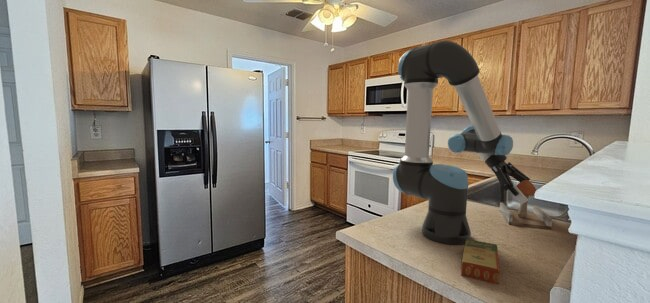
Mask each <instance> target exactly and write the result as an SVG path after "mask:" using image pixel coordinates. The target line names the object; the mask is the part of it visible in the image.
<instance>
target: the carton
mask: <svg viewBox="0 0 650 303" xmlns="http://www.w3.org/2000/svg"><path fill="white" fill-rule="evenodd" d="M498 252H499V251H498V244H496V243H490V242H485V241H479V240H473V239H471V240H468V239H466V241H465V244H464V249H463V254H462V261H461V266H460V268H461V269H460V270H461V272H460V276H462V277H467V278H471V279H474V280H477V281H483V282H487V283H490V284H493V285H497V286H499V285H498V284H499V278H500V264H499V263H500V262H499V253H498Z"/></svg>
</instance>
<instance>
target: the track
mask: <svg viewBox="0 0 650 303" xmlns="http://www.w3.org/2000/svg"><path fill="white" fill-rule="evenodd" d="M498 211H499V213H500V215H501V216H502V217H503V218H504V220H505V221H506V223H507V224H508V225H510V226H519V227H527V228H529V227H530V228H535V229H536V228H537V229H544V230H546V229H547V230H552V225H553V218H552V217H551V216H550V215H548V213H546V212H545V211H544V210H543V209H542V208H540V207H539V206H538V205H536V204H535V205H533V212H531V211H527V216H526V218H521V217H519V216H518V211H519V210H510V209H509V208H508V207H507V206H506V204H505V203H504V202H502V201H501V202H499V210H498Z"/></svg>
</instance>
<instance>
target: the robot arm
mask: <svg viewBox="0 0 650 303" xmlns="http://www.w3.org/2000/svg"><path fill="white" fill-rule="evenodd" d="M398 61H399V62H398V65H397V72H398V76H400V79H401V81H403V86H404V87H405V89H406V90H407V101H406V102H407V107H406V122H405V125H406V126H405V138H404V139H405V142H404V143H405V144H404V145H405V146H404V154H403V156H402V157H401V158H400V160H399V163H398V164H396V166H395V168H394V169H393V171H392V182H393V184H394V186H395V188H396V189H397V191H398V192H401V193H403V194H405V195H408V196H412V197H416V198H419V199H423V200H427V201H428V206H427V207H428V210H427V213H426V216H425V218H424V220H423V223H422V226H421V234H422V235H423V236H424V237H425V238H427V239H429V240H431V241H433V242H436V243H441V244H447V245H465V241H466V239H468V240H472V239H471V238H472V237H471V236H472V232H471V228H470V225H469V221H468V218H467V202H468V189H469V176H468V173H467V171H466V170H465V169H463V168H461V167H458V166H455V165H449V164H444V163H434V161H433V159H432V158H431V157H430V145H431V144H430V143H431V142H430V141H431V128H432V127H431V126H432V114H433V113H432V112H433V111H432V109H433V95H434V90H435V89H436V87H438V86H439V78H445V79H446V80H447V82H448V84H449V86H452V87H454V89H455V91H456V93H457V95H458V97H459V100H460V102H461V104H462V105H463V106H462V107H463V108H464V110H465V113H466V114H467V117H468V119H469V121H470V123H471V124H470V125H468V126H467V127H465V128H464V129H463V130H462V131H461V132H460V133H455V134H453V135H450V137H449V138H448V139H447V147H448V149H449V150H450V151H451V152H452V153H455V154H457V153H459V154H460V153H463V152H466V153H474V154H475V153H476V154H477V156H478V158H480V159H481V160H482V161H484V163H485V165H487V167H488V168H489V169H491V171H492V172H493V174H494V175H495V177H496V179H497V180H498V182H499V183H500V185H501V187H502V188H503V189H504V191H506V192H507V191H509V192H510V193H511V195H512V196H513V197H514V198H515V200H517V201H518V203H520V205H521V204H523V203H525V202H527V201H529V198H528V199H527V198H526V197H525V196H524V195H523V193H522V192H521V191H520V190H519V189H518V188H517V187H516V185H514V183H513V181H512V178H513V179H515V180H516V181H517V182H518V183H520V182H522V181H524V180H526V179H527V180H528V181H530V180H531V178H530V177H528V176H527V175H526V174H524V173H523V172H522V171H521V170H519V169H518V168H517V167H516V166H515V165H514V164H512V163H511V162H506V160H507V156H508V155H510V153H512V151H513V148H514V139H513V137H511V135H509V134H502V132H501V129H500V127H499V124H498V122H497V119H496V117H495V114H494V112H493V110H492V108H491V105H490V102H489V100H488V98H487V95H486V93H485V90H484V87H483V86H482V83H481V80H480V77H479V74H480V72H481V70H480V67H479V65H478V63H477V61H476V59H475V58H474V57H473V55H472V54H471V53H470V52H469V51H468V50H467V49H466V48H465V47H464V46H462V44H459V43H457V42H454V41H452V40H440V41H436V42H432V43H429V44H426V45H425V44H424V45H421V46H417V47H413V48H412V49H409V50H407V51H405V52H404V54H402V55H401V57H400V58H399V60H398ZM536 190H538V189H537V188H536ZM532 197H533V198H534V196H532Z"/></svg>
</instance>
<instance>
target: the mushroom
mask: <svg viewBox="0 0 650 303" xmlns="http://www.w3.org/2000/svg"><path fill="white" fill-rule="evenodd" d="M515 186H516V187H517V188H518V189H519V190H520V191H521V192H522V193H523V195H524V196H525V197H526V198H527V199H528V201H529V198H530V197H533V196H534V193H535V191H536V189H537V187H536V186H535V185H534V184H533V183H532V182H531V181H530V180H529V181H528V180H527V179H526V180H524V181H522V182H518V184H516V185H515ZM528 201H527V202H525V203H523V204H521V203H520V206H519V207H518V208H519V209H518V210H517V211H518V216H519V217H521V218H526V216H527V212H528V203H529V202H528Z"/></svg>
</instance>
